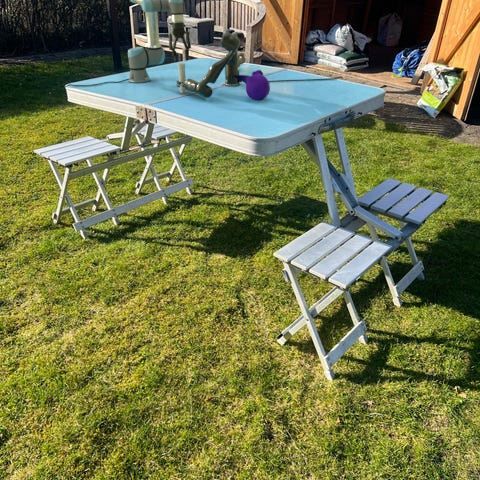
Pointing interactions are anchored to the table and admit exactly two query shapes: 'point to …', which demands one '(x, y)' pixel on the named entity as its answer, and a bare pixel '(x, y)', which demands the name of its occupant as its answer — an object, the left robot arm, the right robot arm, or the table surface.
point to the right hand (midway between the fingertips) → (180, 81)
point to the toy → (255, 85)
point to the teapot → (241, 59)
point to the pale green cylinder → (182, 79)
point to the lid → (181, 65)
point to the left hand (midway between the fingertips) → (181, 60)
